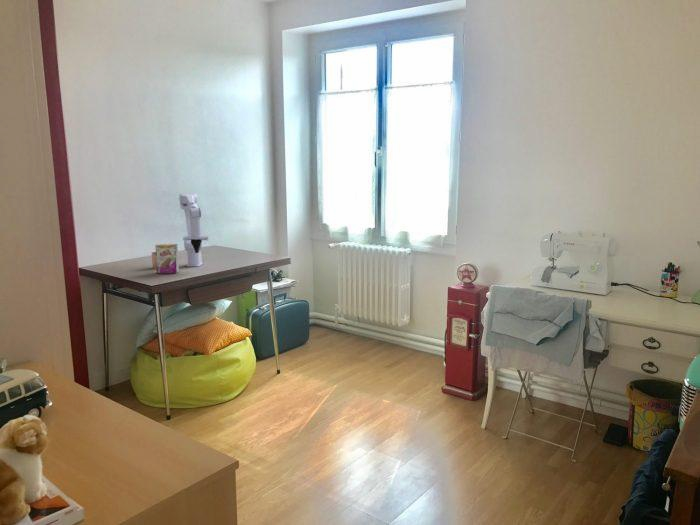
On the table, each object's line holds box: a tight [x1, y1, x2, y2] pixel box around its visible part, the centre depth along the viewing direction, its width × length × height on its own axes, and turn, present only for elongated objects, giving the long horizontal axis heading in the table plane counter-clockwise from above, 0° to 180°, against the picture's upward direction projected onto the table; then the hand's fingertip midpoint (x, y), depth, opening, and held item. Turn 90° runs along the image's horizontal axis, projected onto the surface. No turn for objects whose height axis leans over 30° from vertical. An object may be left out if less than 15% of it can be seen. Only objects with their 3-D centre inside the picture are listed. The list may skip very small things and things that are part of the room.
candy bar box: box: [154, 243, 180, 275], centre depth 316 cm, size 11×5×16 cm, turn 92°
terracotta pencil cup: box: [151, 251, 157, 270], centre depth 331 cm, size 7×7×9 cm
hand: (196, 252), depth 322 cm, fingers closed
